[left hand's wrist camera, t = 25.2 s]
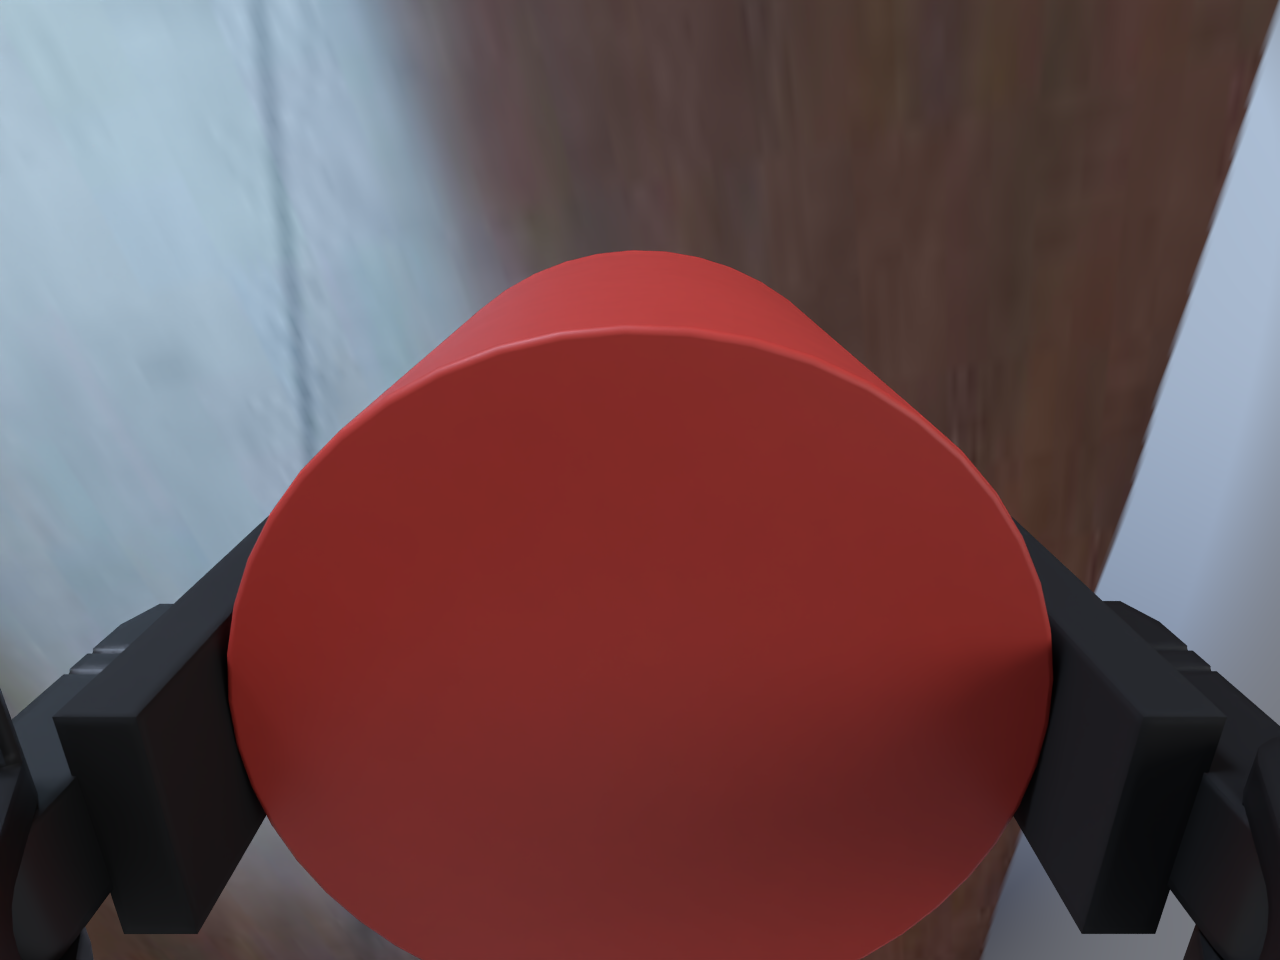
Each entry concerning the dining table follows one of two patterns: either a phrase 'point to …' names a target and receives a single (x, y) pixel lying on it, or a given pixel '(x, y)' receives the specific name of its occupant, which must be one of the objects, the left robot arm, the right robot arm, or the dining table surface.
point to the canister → (640, 638)
